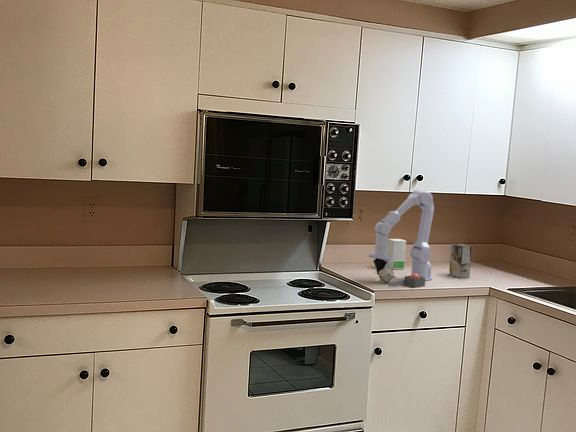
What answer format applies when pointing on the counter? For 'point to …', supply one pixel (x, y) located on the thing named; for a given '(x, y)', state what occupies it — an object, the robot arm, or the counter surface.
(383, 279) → the game die
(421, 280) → the dome housing
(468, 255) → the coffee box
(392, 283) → the bar
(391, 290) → the counter surface
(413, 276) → the dome
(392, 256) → the skincare box
